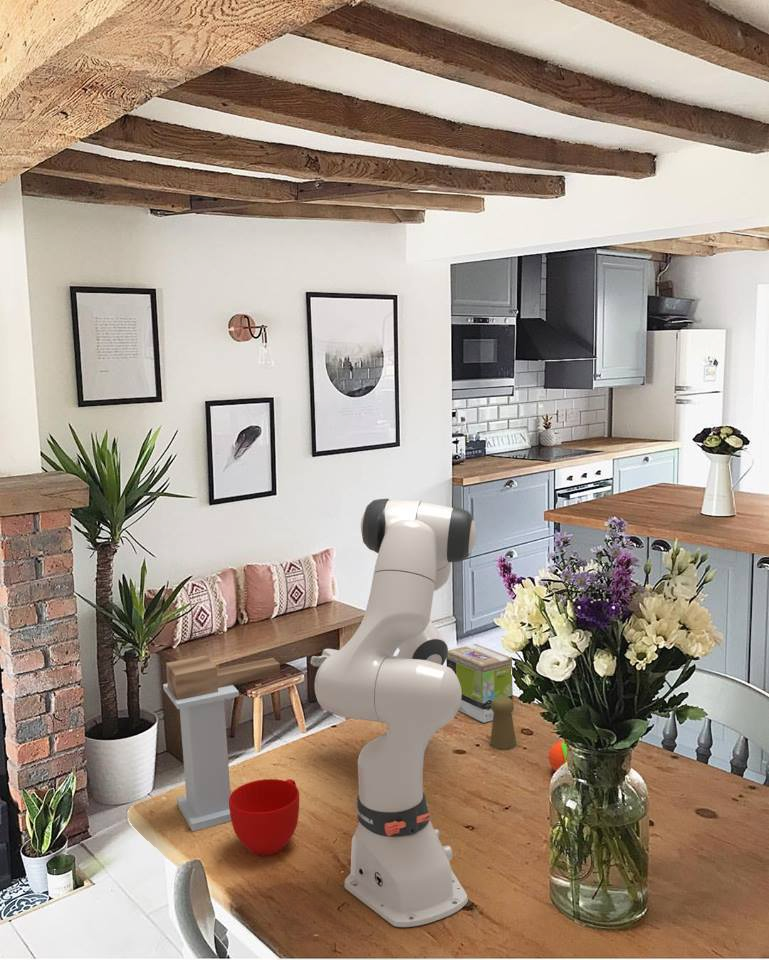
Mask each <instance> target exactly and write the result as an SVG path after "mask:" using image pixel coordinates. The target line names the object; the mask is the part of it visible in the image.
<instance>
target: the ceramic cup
mask: <svg viewBox="0 0 769 960" xmlns="http://www.w3.org/2000/svg"><path fill="white" fill-rule="evenodd" d="M230 794H231V795H230V797H229V809H230V816H231V821H230V822H231V825H232V828H233V831H234V834H235V835H236V838H238V841H239V842H240V843H241V844H242V845H243V846H244V847H245V848H246V849H247V850H249V851H250V852H251V853H252V854H254V855H256V856H270V855H271V854H272V855H274V854H275V855H276V854H277V853H279V852H280V850H281V851H282V850H283V849H284V848H285V847H286V845H287V844H288V842H289V841H290V840H291V839H292V837H293V835H294V833H295V831H296V829H297V826H298V822H299V821H298V820H299V816H300V815H299V813H300V811H299V810H300V792H299V788H298V786H297V784H296V781H295V780H294V779H291V778H288V779H286V780H283V779H276V778H268V779H259V780H253V781H250V782H247V783H245V784H242V785H240V786H239V787H237V788H235V789H234V790H233V791H232V792H231V793H230Z"/></svg>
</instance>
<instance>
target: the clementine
mask: <svg viewBox="0 0 769 960" xmlns="http://www.w3.org/2000/svg"><path fill="white" fill-rule="evenodd" d="M563 741H564V740H559V741H557V742H556V743H554V744H553V746H552V747H550V750H549V752H548V760H549V764H550V767H551V768H552V769H553V770H554V771H555V772H556V770H557V769H558V768H559V767H560V766H561V765H562V764H564V763H565V762H566V760H567V747H566V744H565V743H564V742H563Z"/></svg>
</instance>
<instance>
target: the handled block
mask: <svg viewBox="0 0 769 960" xmlns="http://www.w3.org/2000/svg"><path fill="white" fill-rule="evenodd" d="M280 665H281V663H280V662H278V661H277V660H276V659H275V658H274V657H270V658H266V659H260V660H255V661H249V662H244V663H239V664H234V665H231V666H230V665H229V666H226V667H225V666H224V667H220V668H217V666H216V665H215V664H214V663H213V662H212V660H211V659H210V658H209V657H208V656H207V655H202V656H201V655H200V656H197V657H196V656H195V657H190V658H186V659H185V658H184V659H180V660H173V661H169V662H166V663H165V667H166V668H165V669H166V681H167V682H166V684H168V688H169V689H170V691H171V692H172V693H173V695H174V696H175V698H176V699H177V700H181V699H186V698H191V697H196V696H200V695H205V694H210V693H215V692H218V688H221V687H225V686H230V685H233V686H235V685H239V684H244V683H249V682H255V681H260V680H264V679H268V678H273V677H278V676H281V666H280Z"/></svg>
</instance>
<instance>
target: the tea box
mask: <svg viewBox="0 0 769 960" xmlns="http://www.w3.org/2000/svg"><path fill="white" fill-rule="evenodd" d="M511 658H512V657H510V656H508V655H505V654H503V653H500V652H499V651H498V652H497V651H495V650H492V649H490V648H488V647H485V646H482V645H479V644H478V643H474V644H469V645H465V646H461V647H458V648H452V649H448V654H447V658H446V660H445V662H446V667H449V668H451V669H452V670H453V671H454V673H455V674H456V676H457V678H458V680H459V682H460V686H461V693H462V696H461V704H460V707H459V709H458V712H461V713H464V714H466V715H467V716H469V717H471V718H472V719H474V720H477V721H478V722H481V723H489V722H493V714H494V712H493V711H492V709H491V702H492V700H493V699H494V698H496V697H501V696H503V697H508V698H510V699H511V700H512V701H513V702H514V699H513V698H514V696H513V691H514V689H513V674H512V675H511V667H512V668H513V658H512V659H511ZM513 711H514V710H513ZM513 711H512V714H513Z"/></svg>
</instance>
